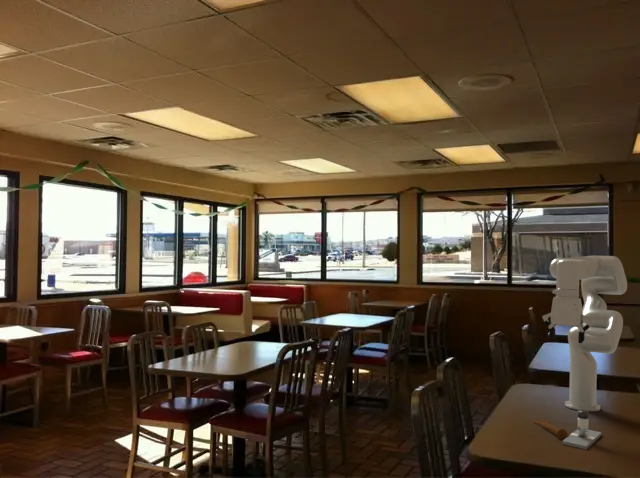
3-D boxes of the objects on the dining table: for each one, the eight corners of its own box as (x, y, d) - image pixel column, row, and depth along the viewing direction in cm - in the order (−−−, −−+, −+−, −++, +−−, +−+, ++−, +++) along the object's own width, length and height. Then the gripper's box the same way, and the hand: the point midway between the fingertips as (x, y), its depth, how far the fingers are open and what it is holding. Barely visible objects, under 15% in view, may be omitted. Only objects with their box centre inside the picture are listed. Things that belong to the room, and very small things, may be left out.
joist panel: (579, 430, 194) (579, 427, 194) (601, 435, 190) (601, 432, 190) (562, 444, 180) (562, 440, 180) (586, 449, 176) (586, 445, 176)
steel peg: (579, 433, 187) (579, 409, 187) (589, 436, 185) (589, 411, 185) (576, 436, 185) (576, 411, 185) (586, 438, 183) (587, 413, 183)
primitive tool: (531, 422, 204) (531, 412, 204) (546, 422, 204) (546, 412, 204) (557, 440, 185) (557, 430, 185) (573, 441, 185) (574, 430, 185)
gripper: (539, 292, 210) (538, 339, 210) (590, 296, 199) (589, 345, 199) (546, 291, 216) (545, 337, 215) (595, 295, 205) (595, 343, 204)
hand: (566, 341), depth 207 cm, fingers open, 9 cm apart
